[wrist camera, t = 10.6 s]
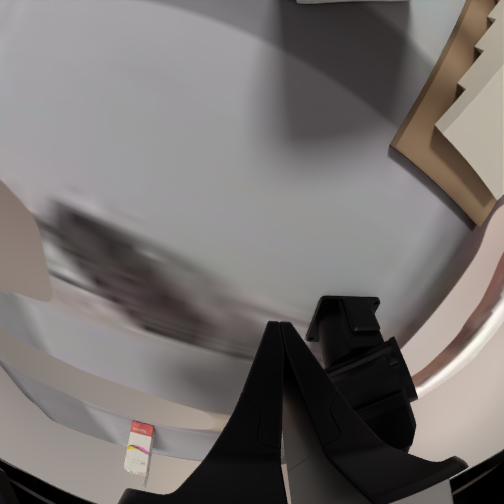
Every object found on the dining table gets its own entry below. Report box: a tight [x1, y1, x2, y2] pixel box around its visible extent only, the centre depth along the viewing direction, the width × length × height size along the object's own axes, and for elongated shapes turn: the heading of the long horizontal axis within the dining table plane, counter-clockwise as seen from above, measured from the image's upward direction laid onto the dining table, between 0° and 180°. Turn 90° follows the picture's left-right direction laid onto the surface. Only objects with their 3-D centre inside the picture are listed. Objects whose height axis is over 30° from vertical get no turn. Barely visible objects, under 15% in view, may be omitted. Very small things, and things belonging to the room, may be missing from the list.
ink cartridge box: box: [124, 421, 154, 487], centre depth 43 cm, size 9×5×15 cm, turn 164°
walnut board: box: [390, 0, 498, 228], centre depth 13 cm, size 24×14×1 cm, turn 154°
